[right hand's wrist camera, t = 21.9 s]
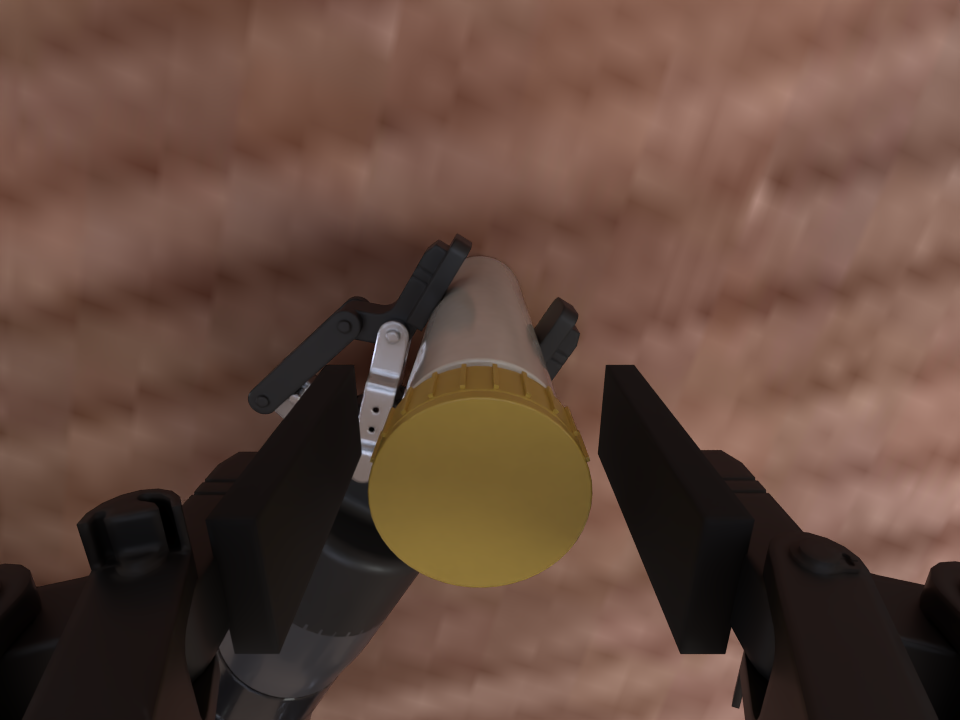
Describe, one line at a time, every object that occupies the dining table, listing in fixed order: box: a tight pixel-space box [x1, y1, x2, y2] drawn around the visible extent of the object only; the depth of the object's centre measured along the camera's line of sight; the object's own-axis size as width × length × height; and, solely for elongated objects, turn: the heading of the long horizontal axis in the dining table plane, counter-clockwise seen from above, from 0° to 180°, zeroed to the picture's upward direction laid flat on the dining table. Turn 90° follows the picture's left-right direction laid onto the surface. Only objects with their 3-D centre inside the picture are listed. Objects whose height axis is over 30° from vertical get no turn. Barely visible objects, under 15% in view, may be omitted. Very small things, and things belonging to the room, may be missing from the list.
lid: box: [368, 364, 592, 587], centre depth 11 cm, size 5×5×2 cm
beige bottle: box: [402, 256, 557, 399], centre depth 19 cm, size 4×4×17 cm
